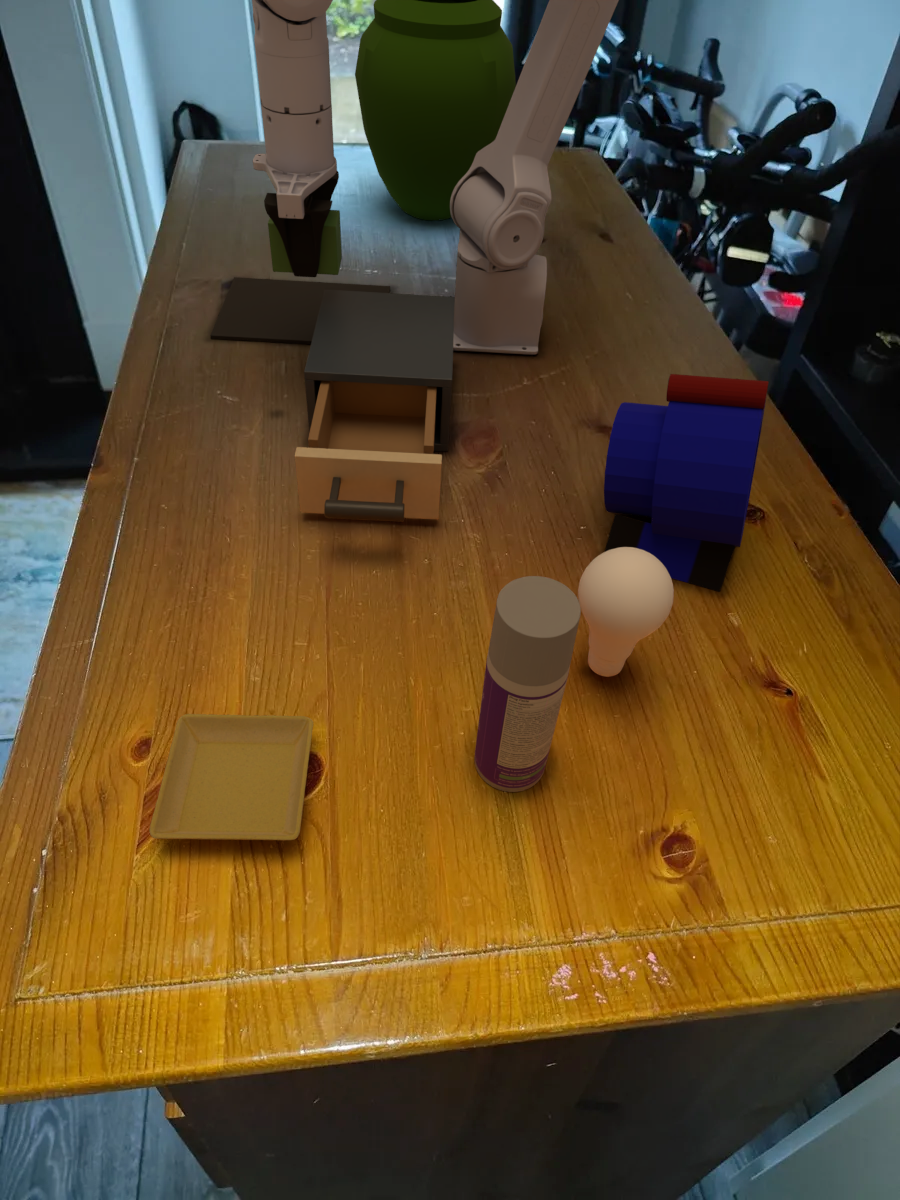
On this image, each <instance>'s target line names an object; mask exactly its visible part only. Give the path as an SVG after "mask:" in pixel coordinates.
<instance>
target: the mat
mask: <svg viewBox="0 0 900 1200" xmlns="http://www.w3.org/2000/svg"><path fill="white" fill-rule="evenodd" d="M324 290H342V291H359V292H377V293H391V286H390V285H377V284H375V285H374V284H357V283H343V282H342V283H341V282H323V281H309V280H308V281H305V280H289V279H288V280H287V279H273V278H272V279H271V278H254V277H253V278H252V277H237V276H236V277H233V279H232V282H231V284H230V286H229V289H228V291H227V294H226V296H225V299H224V301H223V303H222V306H221V309H220V310H219V314H218V316H217V318H216V320H215V322H214V325H213V328H212V330H211V333H210V336H209V337H210V339H211V340H228V341H229V340H231V341H244V342H245V341H247V342H248V341H249V342H264V343H265V342H266V343H283V344H284V343H286V344H299V345H301V344H302V345H311V342H312V338H313V334H314V330H315V326H316V322H317V318H318V314H319V310H320V306H321V302H322V298H323V294H324Z"/></svg>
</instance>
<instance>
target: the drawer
mask: <svg viewBox="0 0 900 1200" xmlns="http://www.w3.org/2000/svg"><path fill="white" fill-rule="evenodd" d="M436 394H437V387H432V386H414V385H396V384H377V383H359V382H340V381H322V380H321V383H320V388H319V392H318V397H317V401H316V406H315V410H314V415H313V419H312V424H311V428H310V433H309V432H308V433H309V434H308V438H307V442H308V447H304V446H296V448H295V451H294V465H295V475H296V485H297V493H298V495H297V496H298V502H299V512H300V513H302V514H303V513H304V514H321V515H323V514H324V518H326V519H340V520H359V521H361V520H362V521H378V522H379V521H380V522H381V521H382V522H401V523H404V521H405V518H406V519H424V520H439V519H440V502H441V486H442V485H441V484H442V469H443V468H442V466H443V454H440V453H439V454H438V453H434V452H435V451H434V436H435V416H436Z"/></svg>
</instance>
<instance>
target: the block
mask: <svg viewBox="0 0 900 1200" xmlns="http://www.w3.org/2000/svg"><path fill="white" fill-rule="evenodd" d="M341 227H342V226H341V211H340V209H330V212H329V214H328V217H327V219H326V221H325V224H324V227H323V232H322V239H321V252H320V262H319V268H318V273H317V275H330V276H338V275H339V274H340V268H341V264H342V259H343V253H342V252H343V251H342V233H341V232H342V231H341V230H342V229H341ZM267 229H268V239H269V246H270V258H271V265H272V266H271V267H272V272H273V273H291V274H293V271H292V269H291V266H290V263H289V260H288V256H287V253H286V250H285V247H284V244H283V241H282V238H281V236H280V234H279V232H278V230H277V228H276V226H275V224H274V223H273V221H272V220H271V218H270V217H269V218H268V221H267Z"/></svg>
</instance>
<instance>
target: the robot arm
mask: <svg viewBox="0 0 900 1200" xmlns="http://www.w3.org/2000/svg"><path fill="white" fill-rule="evenodd" d="M333 1H334V0H251V4H252V19H253V25H254V38H253V41H254V51H255V61H256V71H257V81H258V88H259V89H258V90H259V91H258V92H259V98H260V108H261V118H262V128H263V135H264V136H263V137H264V145H265V153H257V154H255V155H254V156H253V159H252V167H253V168H252V169H253V170H255V171H258V172H259V171H262V172H265V173H266V174H267V176H268V178H269V181H270V182H271V184H272V186H273V188H274V190H275V192H266V195H265V197H264V200H263V205H264V210H265V212H266V214H267V216H268V217H269V219H270V218H271V220H272V221H273V223H274V224H275V226H276V228H277V230H278V232H279V234H280V236H281V238H282V241H283V244H284V247H285V250H286V253H287V256H288V260H289V263H290V266H291V269H292V271H293V273H292V274H293V275H294V277H300V278H317V276H318V274H317V273H318V268H319V262H320V252H321V239H322V232H323V227H324V224H325V221H326V219H327V217H328V214H329V212H330V210H332V205H333V202H334V201H333V200H332V197H333V195H334V192H335V189H336V187H337V186H338V183H339V179H340V175H339V174H340V173H339V171H338V161H337V158H336V157H335V150H334V147H335V146H334V128H333V127H334V126H333V105H332V85H331V83H332V82H331V64H330V45H329V38H328V26H327V11H328V10H329V8H330V7H331V4H332V3H333ZM619 1H620V0H548V3H547V5H546V8H545V10H544V13H543V15H542V18H541V21H540V23H539V26H538V28H537V31H536V34H535V36H534V39H533V41H532V44H531V46H530V49H529V51H528V55H527V57H526V60H525V62H524V65H523V67H522V69H521V72H520V75H519V77H518V80H517V82H516V86H515V90H514V93H513V95H512V98H511V100H510V103H509V106H508V108H507V111H506V113H505V116H504V118H503V121H502V124H501V126H500V129H499V131H498V134H497V136H496V139H495V140H494V141H493V142H492V143H490V144H489V145H487V146H486V147H484V148H483V149H481V150H480V151H478V152H477V153H476V156H475V158H474V161H473V163H472V165H471V167H470V169H469V170H468V172H467V173H466V174H465V175H464V176H463V177H462V178H461V179H460V180H459V182H458V183H457V184H456V186H455V188H454V190H453V192H452V195H451V199H450V213H451V217H452V218H451V219H452V221H453V223H454V225H455V226H456V227H458V229H459V236H458V244H457V254H456V268H455V270H456V271H455V289H454V297H455V305H454V339H453V351H461V352H478V353H494V354H495V353H497V354H512V355H513V354H514V355H515V354H516V355H531V356H533V355H537V354H539V342H540V334H541V327H542V325H543V320H544V319H543V318H544V307H545V298H546V291H547V290H546V289H547V279H548V261H547V256H545V255H541V254H540V255H539V254H537V253H538V251H539V250H540V248H541V245H542V244H543V240H544V237H545V222H546V221H545V220H546V215H547V213H548V210H549V207H550V205H551V203H552V197H553V196H552V191H551V190H552V189H551V184H550V178H549V172H548V166H549V163H550V161H551V159H552V156H553V154H554V152H555V150H556V147H557V145H558V142H559V141H560V138H561V135H562V133H563V131H564V128H565V127H566V124H567V122H568V119H569V117H570V115H571V113H572V110H573V108H574V105H575V103H576V101H577V98H578V96H579V94H580V92H581V90H582V87H583V85H584V82H585V80H586V77H587V75H588V73H589V70H590V68H591V65H592V64H593V61H594V58H596V57H595V56H596V54H597V52H598V49H599V47H600V45H601V43H602V40H603V39H604V36H605V33H606V31H607V28H608V26H609V24H610V22H611V19H612V17H613V15H614V13H615V10H616V7H617V6H618V3H619Z"/></svg>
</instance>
